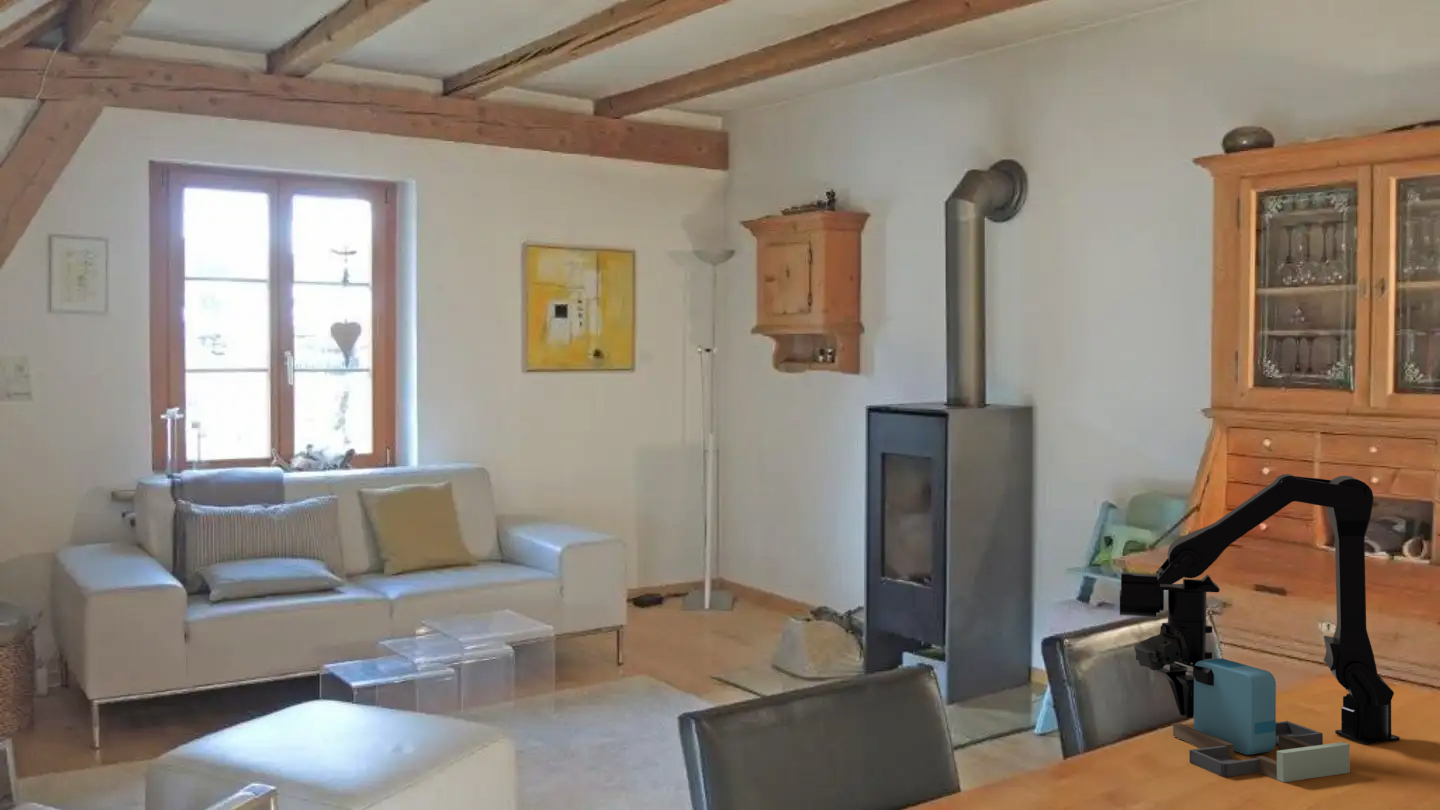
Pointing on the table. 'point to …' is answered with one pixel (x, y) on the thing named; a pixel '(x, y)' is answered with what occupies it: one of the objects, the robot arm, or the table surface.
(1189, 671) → the robot arm
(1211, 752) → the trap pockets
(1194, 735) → the lane rails
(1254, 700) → the blue rounded slab
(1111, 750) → the table surface
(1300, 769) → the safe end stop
